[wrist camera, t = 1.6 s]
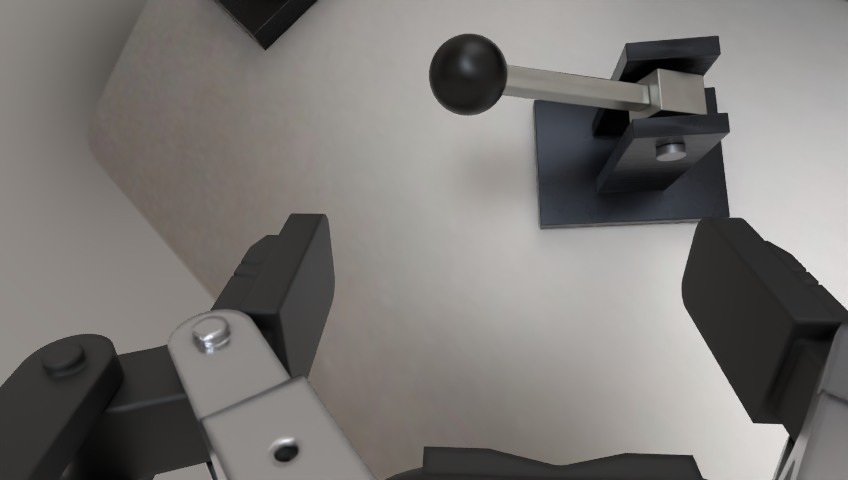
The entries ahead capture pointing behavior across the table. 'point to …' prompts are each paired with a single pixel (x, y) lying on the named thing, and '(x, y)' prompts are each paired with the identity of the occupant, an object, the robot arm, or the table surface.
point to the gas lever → (552, 84)
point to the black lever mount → (633, 151)
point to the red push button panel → (265, 16)
